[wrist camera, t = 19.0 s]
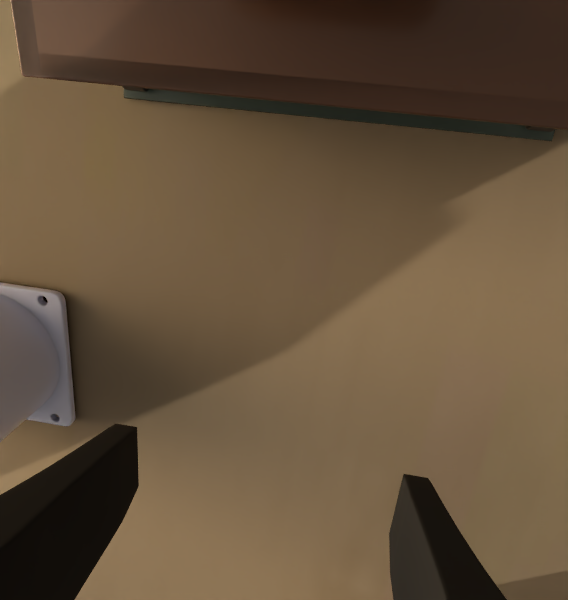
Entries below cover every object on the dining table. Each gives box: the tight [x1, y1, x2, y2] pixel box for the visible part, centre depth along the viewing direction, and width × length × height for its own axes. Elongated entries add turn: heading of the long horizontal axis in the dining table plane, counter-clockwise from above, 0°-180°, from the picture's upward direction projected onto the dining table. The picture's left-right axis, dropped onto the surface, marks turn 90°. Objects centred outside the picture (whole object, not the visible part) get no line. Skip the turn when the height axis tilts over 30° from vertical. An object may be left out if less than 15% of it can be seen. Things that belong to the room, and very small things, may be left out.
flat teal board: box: [122, 86, 556, 141], centre depth 17 cm, size 7×17×1 cm, turn 84°
